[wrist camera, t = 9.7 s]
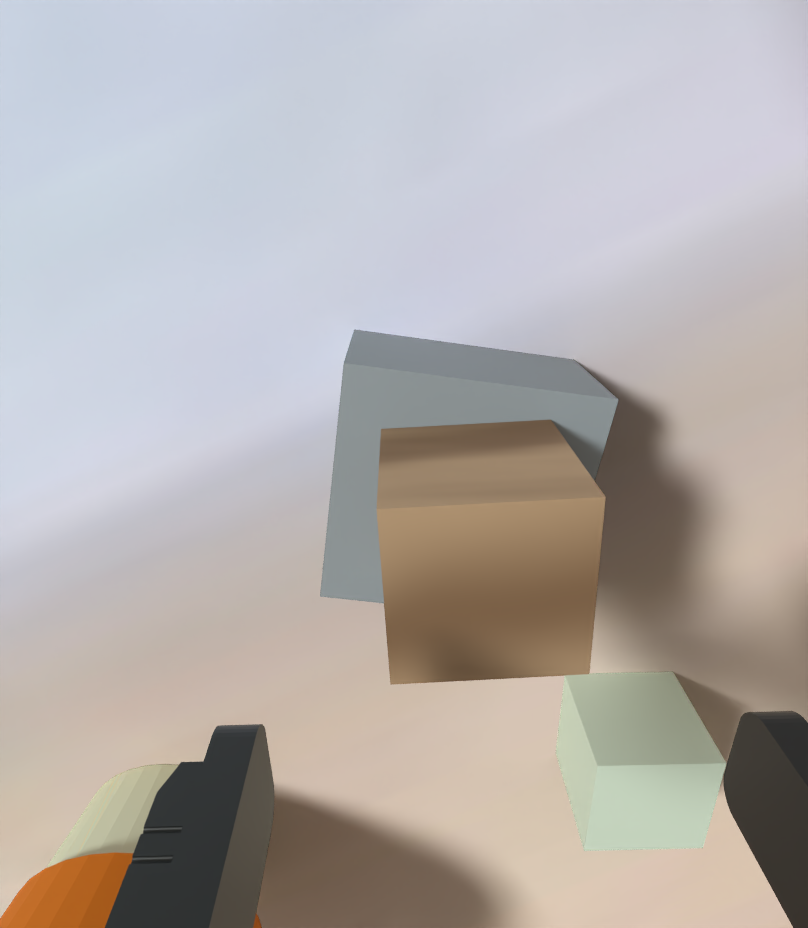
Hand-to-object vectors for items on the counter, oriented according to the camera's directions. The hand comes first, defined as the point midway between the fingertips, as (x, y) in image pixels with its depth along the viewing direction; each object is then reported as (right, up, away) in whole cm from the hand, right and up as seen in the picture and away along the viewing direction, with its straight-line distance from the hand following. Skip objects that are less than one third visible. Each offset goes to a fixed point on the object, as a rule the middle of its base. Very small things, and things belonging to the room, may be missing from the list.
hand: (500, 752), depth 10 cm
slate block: (0, +6, +13) cm, 14 cm away
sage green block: (+8, -7, +19) cm, 22 cm away
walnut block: (0, +4, +8) cm, 9 cm away
